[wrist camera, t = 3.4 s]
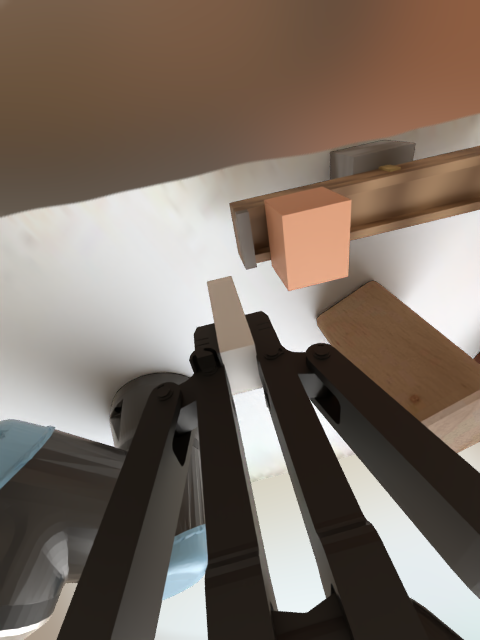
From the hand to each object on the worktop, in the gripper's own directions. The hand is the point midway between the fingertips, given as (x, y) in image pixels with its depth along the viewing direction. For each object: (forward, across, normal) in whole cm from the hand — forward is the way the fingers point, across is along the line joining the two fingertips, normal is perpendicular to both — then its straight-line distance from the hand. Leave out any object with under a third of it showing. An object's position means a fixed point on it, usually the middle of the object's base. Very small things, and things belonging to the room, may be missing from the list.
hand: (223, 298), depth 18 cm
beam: (+18, +18, 0) cm, 25 cm away
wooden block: (+18, +19, -19) cm, 32 cm away
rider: (+10, +8, 0) cm, 13 cm away
